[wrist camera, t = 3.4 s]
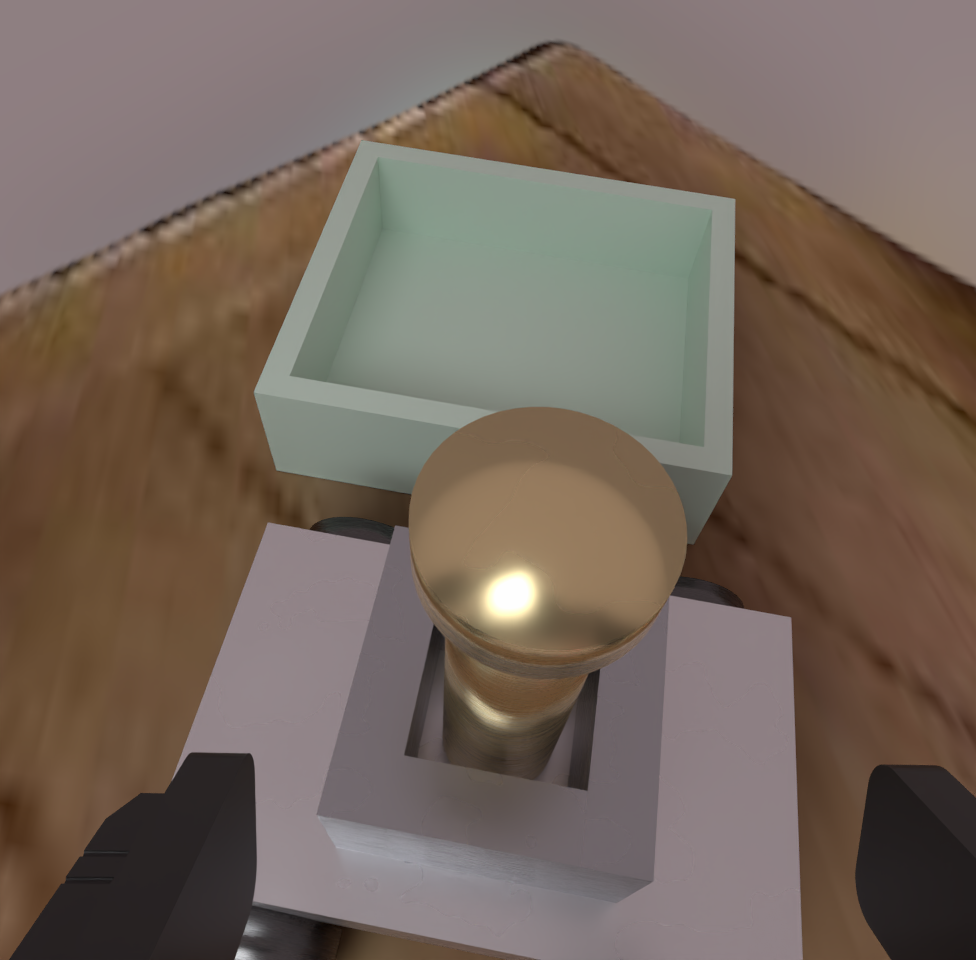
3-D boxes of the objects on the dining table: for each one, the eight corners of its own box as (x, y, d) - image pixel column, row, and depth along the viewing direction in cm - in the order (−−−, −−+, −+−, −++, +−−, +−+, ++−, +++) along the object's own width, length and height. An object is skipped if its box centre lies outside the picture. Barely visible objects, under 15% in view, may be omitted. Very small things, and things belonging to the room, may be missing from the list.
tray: (276, 470, 33) (253, 392, 29) (368, 228, 41) (361, 140, 37) (693, 544, 32) (732, 475, 28) (703, 282, 41) (735, 199, 36)
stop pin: (404, 799, 21) (377, 619, 11) (437, 646, 23) (439, 387, 14) (566, 831, 21) (680, 675, 11) (584, 673, 23) (692, 430, 13)
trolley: (176, 965, 24) (36, 940, 15) (308, 565, 31) (261, 400, 23) (725, 1079, 23) (892, 1119, 15) (730, 643, 30) (844, 502, 22)
